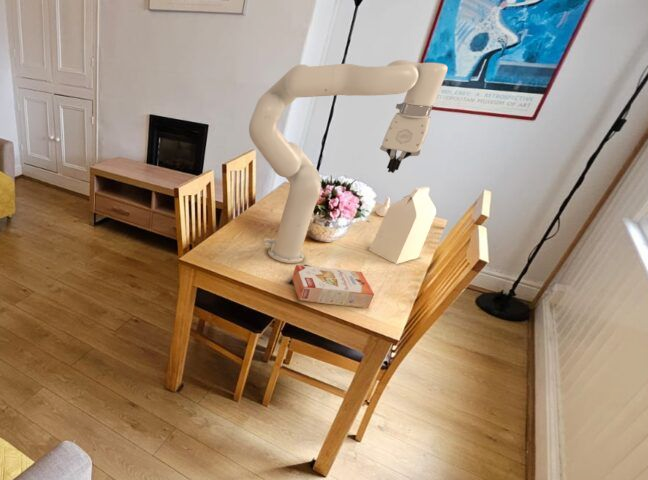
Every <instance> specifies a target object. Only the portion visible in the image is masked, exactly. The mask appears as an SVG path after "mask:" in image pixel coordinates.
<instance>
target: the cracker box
mask: <svg viewBox="0 0 648 480" xmlns="http://www.w3.org/2000/svg"><path fill="white" fill-rule="evenodd" d="M310 266H311V265H308V266H304V265H300V264H296V265H295V267H294V271H293V274H292V276H291V280H293V283H294V285H293V287H294V289H295V292H296V296H297V299H298V301H299V302H309V303H310V302H311V303H318V304H328V305H336V306H344V307H353V308H362V309H363V308H364V309H369V307H370V306H371V303H372V300H373V298H374V295H375V293H374V292H373V290H372V288H371V286H370V285H369V282H368V280H367V279H366V277H365V276H364V274H363V272H362V271H359V270H347V269H339V268H338V269H337V268H327V267H319V266H311V267H310Z"/></svg>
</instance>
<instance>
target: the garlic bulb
mask: <svg viewBox="0 0 648 480" xmlns="http://www.w3.org/2000/svg"><path fill="white" fill-rule="evenodd" d="M390 203H391V198H390V197H389V196H388V197H386V200H385V202H384V203H383V205H380V206H378V207H377V208H376V211H375V213H376V215H377V216H380V217H383V218H384V217H385V214H386V212H387V210H388V208H389V206H390Z"/></svg>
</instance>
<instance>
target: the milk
mask: <svg viewBox="0 0 648 480" xmlns="http://www.w3.org/2000/svg"><path fill="white" fill-rule="evenodd" d="M429 192H430V187H429V186H427V185H426V186H420V187H415V188H414V189H413V190H412V192H411V193H410V194H407V195H405V196H403V197H402V198H403V199H400V200H398V201H395V202H393V203H391V204H389V208H388V210H387V212H386V214H385V217H383V219H382V221H381V223H380V225H379V227H378V230H377V231H376V234H375V236H374V238H373V240H372V242H371V244H370V247H369V249H368V251H370V252H372V253H374V254H375V255H378V256H379V257H381V258H383V259H385V260H388V261H390V262H391V263H393V264H395V265H397V264H402V263H404V262H407V261H412V260H414V259H418V258H419V257H420V254H421V251H422V249H423V246H424V245H425V242H426V239H427V237H428V234H429V232H430V229H431V227H432V224H433V223H434V222H433V221H434V219H435V217H436V214H437V209H436V206H435V204H434V203H433V201H432V199H431V197H430V195H429Z"/></svg>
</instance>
